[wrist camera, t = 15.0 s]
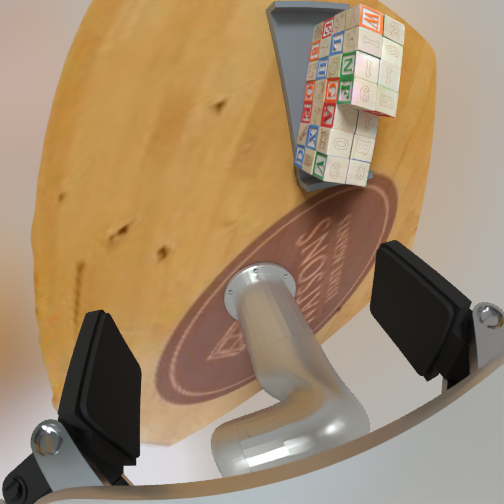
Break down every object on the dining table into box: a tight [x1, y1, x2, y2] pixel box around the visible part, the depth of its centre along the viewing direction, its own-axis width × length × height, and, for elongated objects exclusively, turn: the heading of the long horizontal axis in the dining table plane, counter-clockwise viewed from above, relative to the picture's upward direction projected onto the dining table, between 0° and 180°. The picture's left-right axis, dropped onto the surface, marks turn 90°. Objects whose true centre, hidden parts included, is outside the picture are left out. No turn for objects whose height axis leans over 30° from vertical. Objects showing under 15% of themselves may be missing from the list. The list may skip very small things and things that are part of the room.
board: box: [266, 1, 373, 192], centre depth 34 cm, size 27×11×4 cm, turn 11°
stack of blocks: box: [294, 4, 405, 187], centre depth 29 cm, size 21×6×12 cm, turn 172°
